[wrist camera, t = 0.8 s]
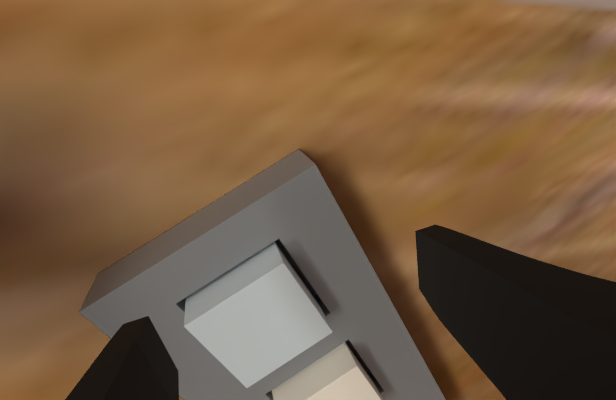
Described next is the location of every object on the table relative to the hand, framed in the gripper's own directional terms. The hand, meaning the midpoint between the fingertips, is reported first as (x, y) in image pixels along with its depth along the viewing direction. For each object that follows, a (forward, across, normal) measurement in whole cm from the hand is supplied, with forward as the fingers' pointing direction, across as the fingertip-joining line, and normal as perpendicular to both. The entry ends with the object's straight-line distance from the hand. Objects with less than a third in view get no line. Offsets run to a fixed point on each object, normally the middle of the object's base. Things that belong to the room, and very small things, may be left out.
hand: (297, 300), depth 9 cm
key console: (+10, 0, +13) cm, 16 cm away
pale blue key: (+7, +2, +6) cm, 9 cm away
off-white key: (+7, -1, +13) cm, 15 cm away
